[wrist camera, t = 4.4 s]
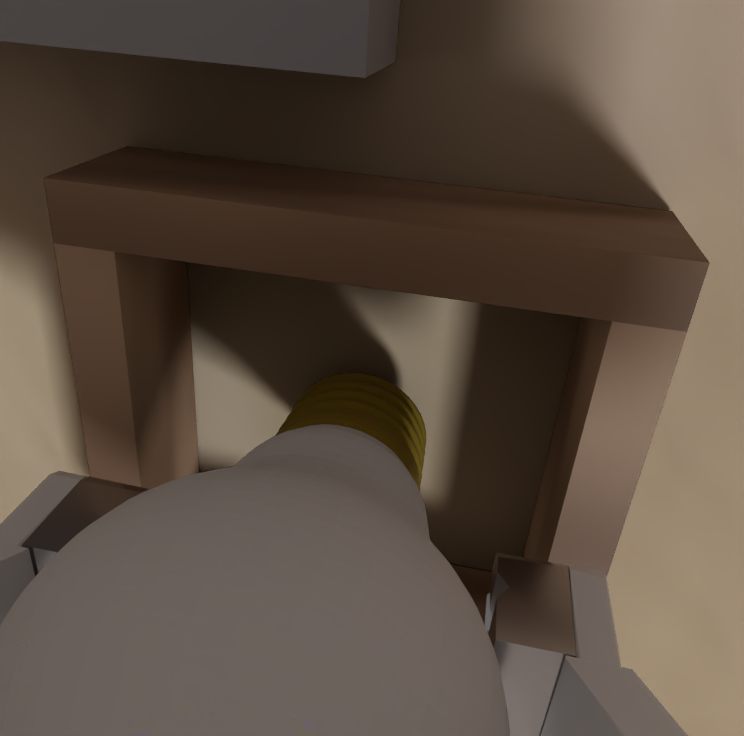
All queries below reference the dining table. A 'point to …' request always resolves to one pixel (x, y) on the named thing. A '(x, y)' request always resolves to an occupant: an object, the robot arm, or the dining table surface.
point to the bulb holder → (375, 270)
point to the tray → (218, 31)
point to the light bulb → (262, 598)
